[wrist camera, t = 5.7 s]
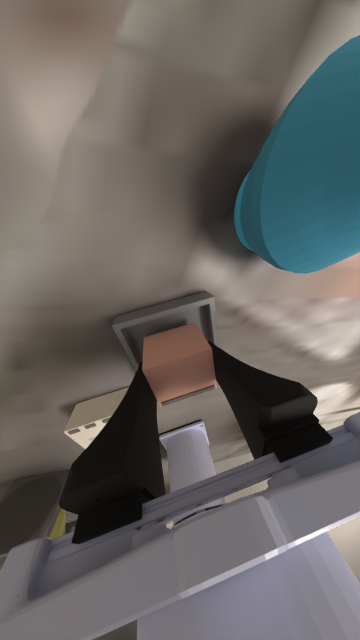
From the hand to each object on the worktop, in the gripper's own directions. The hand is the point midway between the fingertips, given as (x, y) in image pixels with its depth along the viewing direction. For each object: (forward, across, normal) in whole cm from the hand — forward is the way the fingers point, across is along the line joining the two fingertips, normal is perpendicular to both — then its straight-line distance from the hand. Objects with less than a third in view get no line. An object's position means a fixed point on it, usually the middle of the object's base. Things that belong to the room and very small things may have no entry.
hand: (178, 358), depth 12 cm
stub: (+2, 0, 0) cm, 2 cm away
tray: (+4, 0, 0) cm, 4 cm away
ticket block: (+4, +10, +10) cm, 15 cm away
